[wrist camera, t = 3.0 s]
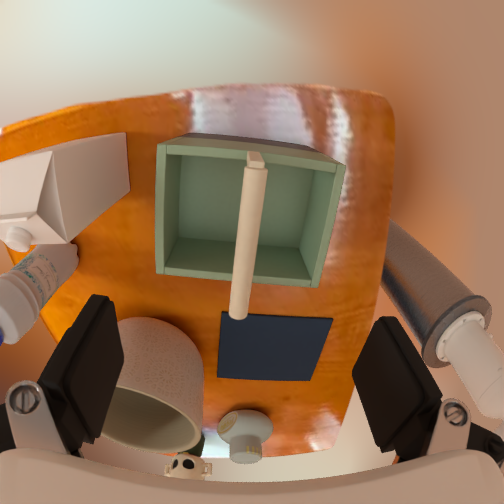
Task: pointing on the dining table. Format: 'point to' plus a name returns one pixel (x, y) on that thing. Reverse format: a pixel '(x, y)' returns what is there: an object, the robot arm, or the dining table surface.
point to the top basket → (244, 213)
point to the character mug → (189, 464)
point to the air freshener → (245, 434)
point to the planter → (156, 389)
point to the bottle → (33, 287)
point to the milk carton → (61, 189)
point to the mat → (271, 347)
